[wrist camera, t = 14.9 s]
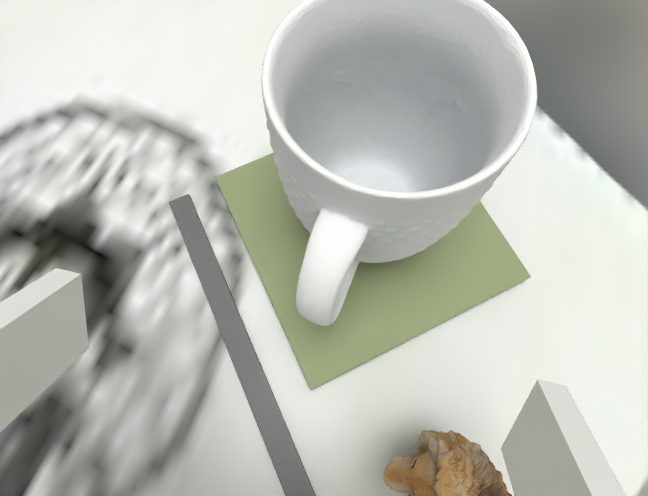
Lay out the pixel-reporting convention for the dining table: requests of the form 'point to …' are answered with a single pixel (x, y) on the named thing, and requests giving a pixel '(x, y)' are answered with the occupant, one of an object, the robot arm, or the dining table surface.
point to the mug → (389, 127)
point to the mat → (364, 276)
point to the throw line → (242, 352)
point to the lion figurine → (445, 469)
